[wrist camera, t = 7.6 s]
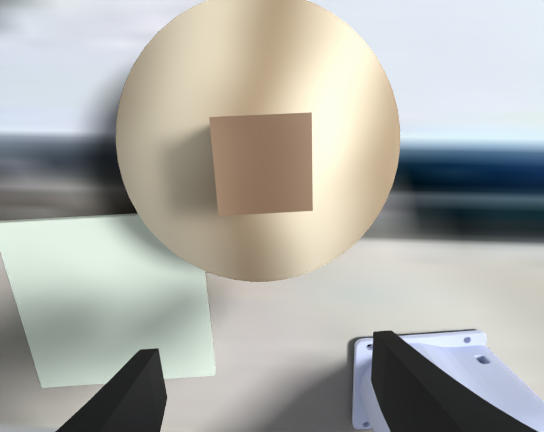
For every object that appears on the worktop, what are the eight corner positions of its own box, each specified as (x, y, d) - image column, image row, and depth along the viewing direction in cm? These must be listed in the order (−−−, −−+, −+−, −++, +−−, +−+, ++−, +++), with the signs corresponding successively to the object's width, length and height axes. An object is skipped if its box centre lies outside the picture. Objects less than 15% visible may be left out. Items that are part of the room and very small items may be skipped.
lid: (399, -4, 13) (482, -78, 8) (383, 264, 16) (436, 323, 12) (101, 5, 13) (7, -67, 8) (147, 279, 16) (101, 346, 11)
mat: (198, 209, 20) (196, 212, 19) (216, 370, 23) (215, 375, 23) (-2, 221, 19) (-9, 223, 19) (46, 382, 23) (41, 388, 22)
